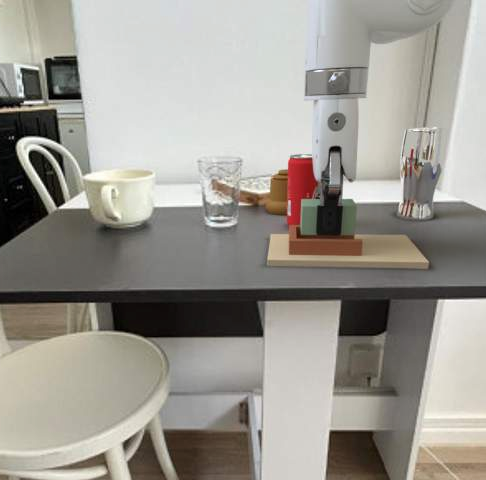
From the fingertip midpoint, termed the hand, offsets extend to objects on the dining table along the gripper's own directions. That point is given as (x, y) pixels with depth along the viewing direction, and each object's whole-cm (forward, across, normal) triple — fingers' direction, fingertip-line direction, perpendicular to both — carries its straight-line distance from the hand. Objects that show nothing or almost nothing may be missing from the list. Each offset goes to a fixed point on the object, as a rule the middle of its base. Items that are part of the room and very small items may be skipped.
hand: (326, 228), depth 61 cm
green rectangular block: (0, 0, 0) cm, 0 cm away
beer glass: (+4, +21, -17) cm, 27 cm away
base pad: (+4, 0, -2) cm, 4 cm away
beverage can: (+4, +13, +3) cm, 14 cm away
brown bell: (+4, +25, +6) cm, 26 cm away
